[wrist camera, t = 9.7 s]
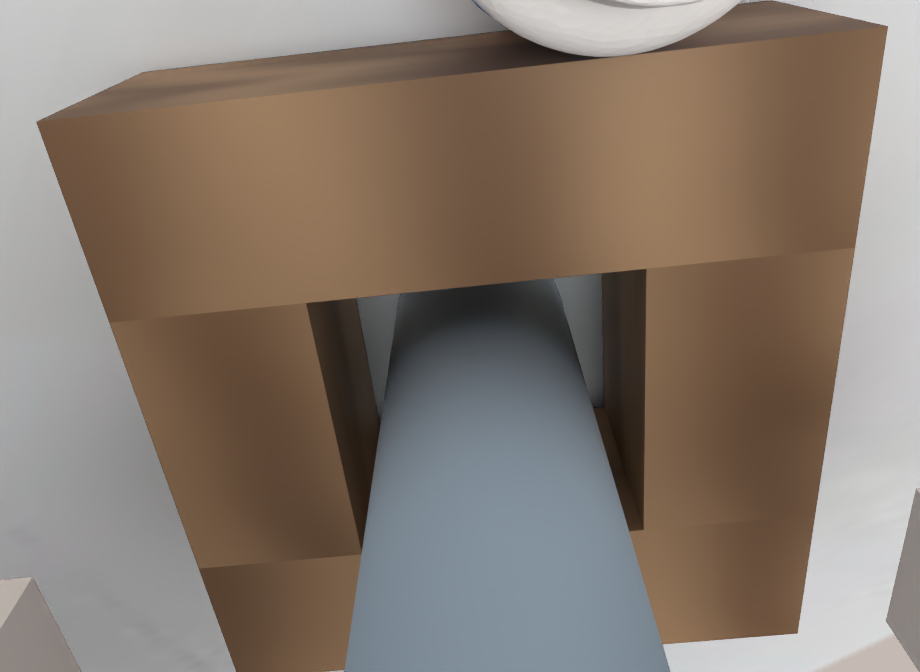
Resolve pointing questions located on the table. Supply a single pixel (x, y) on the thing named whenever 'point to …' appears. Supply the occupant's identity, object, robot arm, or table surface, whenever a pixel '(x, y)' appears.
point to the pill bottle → (605, 22)
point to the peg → (495, 501)
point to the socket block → (483, 263)
